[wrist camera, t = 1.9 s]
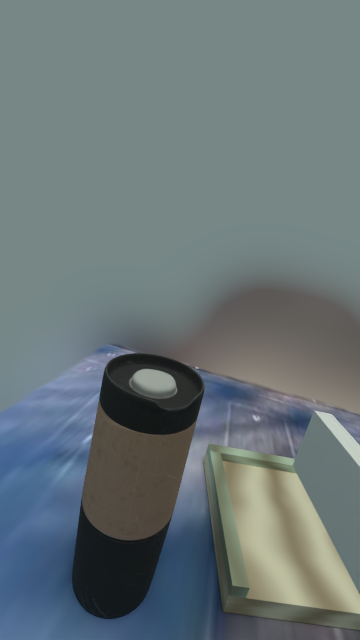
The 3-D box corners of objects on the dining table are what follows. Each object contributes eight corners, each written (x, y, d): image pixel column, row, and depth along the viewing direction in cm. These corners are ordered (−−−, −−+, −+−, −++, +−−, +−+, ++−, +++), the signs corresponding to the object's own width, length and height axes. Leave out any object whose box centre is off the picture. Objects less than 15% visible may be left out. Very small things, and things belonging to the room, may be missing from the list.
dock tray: (320, 482, 45) (328, 464, 44) (413, 637, 27) (428, 613, 27) (203, 462, 43) (208, 443, 43) (223, 611, 26) (232, 585, 25)
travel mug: (100, 518, 32) (134, 344, 27) (166, 553, 30) (216, 372, 25) (48, 592, 25) (80, 375, 20) (130, 645, 23) (189, 417, 18)
